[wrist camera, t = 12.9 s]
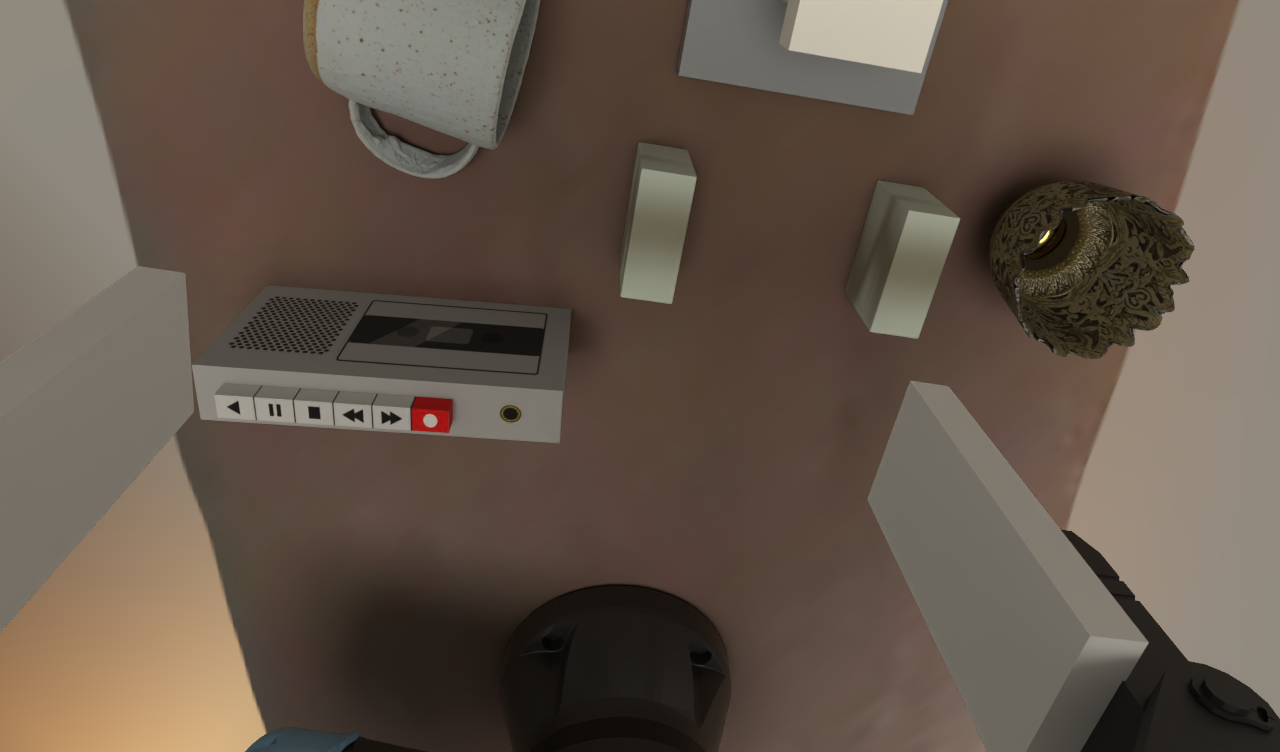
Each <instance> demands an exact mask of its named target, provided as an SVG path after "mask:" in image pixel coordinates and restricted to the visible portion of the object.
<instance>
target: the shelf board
mask: <svg viewBox="0 0 1280 752" xmlns="http://www.w3.org/2000/svg"><path fill="white" fill-rule="evenodd" d="M942 3H943V0H788V5H787V9H786V13H785V18H784V22H783V27H782V31H781V35H780V40H779V44H781V45H782V46H783V47H785V48H786V49H788V50H790V51H796V52H802V53H808V54H813V55H819V56H825V57H831V58H836V59H842V60H848V61H853V62H859V63H865V64H871V65H876V66H882V67H888V68H894V69H899V70H905V71H911V72H916V73H921V72H922V69H923V66H924V62H925V59H926V56H927V53H928V49H929V46H930V43H931V39H932V36H933V33H934V30H935V26H936V23H937V20H938V16H939V13H940V10H941V7H942Z"/></svg>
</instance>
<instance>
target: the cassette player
mask: <svg viewBox="0 0 1280 752" xmlns="http://www.w3.org/2000/svg"><path fill="white" fill-rule="evenodd" d="M570 321H571V309H569V308H556V307H543V306H531V305H518V304H505V303H492V302H479V301H467V300H454V299H441V298H428V297H415V296H403V295H390V294H377V293H364V292H351V291H339V290H326V289H313V288H300V287H287V286H274V285H267V286H266V287H265V288H264V289H263V290H262V291H261V292H260V293H259V294H258V295H257V296H256V297H255V298H254V299H253V300H252V301H251V302H250V304H249V305H248V306H247V307H246V308H245V309H244V310H243V311H242V312H241V313H240V314H239V315H238V316H237V317H236V318H235V319H234V320H233V322H232V323H231V324H230V325H229V326H228V327H227V328H226V329H225V330H224V331H223V332H222V333H221V334H220V335H219V336H218V337H217V338H216V339H215V341H214V342H213V343H212V344H211V345H210V346H209V347H208V348H207V349H206V350H205V351H204V352H203V353H202V354H201V355H200V356H199V357H198V359H197V360H196V361H195V362H194V363H193V364H192V369H193V375H194V381H195V387H196V393H197V399H198V405H199V411H200V417H201V419H203V420H218V421H233V422H248V423H263V424H278V425H293V426H308V427H323V428H338V429H353V430H368V431H383V432H399V433H414V434H429V435H444V436H459V437H474V438H489V439H504V440H519V441H534V442H549V443H560V434H561V424H562V414H563V403H564V393H565V383H566V373H567V362H568V351H569V336H570Z"/></svg>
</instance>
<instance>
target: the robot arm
mask: <svg viewBox="0 0 1280 752" xmlns="http://www.w3.org/2000/svg"><path fill="white" fill-rule="evenodd" d="M193 412H194V404H193V388H192V372H191V357H190V341H189V325H188V310H187V294H186V279H185V273H181V272H174V271H167V270H160V269H154V268H147V267H140V266H138V267H136V268H135V269H134V270H132V271H131V272H129V273H128V274H126V275H125V276H123V277H122V278H120V279H119V280H118V281H116V282H115V283H113V284H112V285H110V286H109V287H108V288H106V289H105V290H103V291H102V292H100V293H99V294H98V295H96V296H95V297H93V298H92V299H90V300H89V301H87V302H86V303H84V304H83V305H81V306H80V307H79V308H77V309H76V310H74V311H73V312H71V313H70V314H68V315H67V316H66V317H64V318H63V319H61V320H60V321H58V322H57V323H56V324H54V325H53V326H51V327H50V328H48V329H47V330H45V331H44V332H42V333H41V334H40V335H38V336H37V337H35V338H34V339H32V340H31V341H29V342H28V343H27V344H25V345H24V346H22V347H21V348H19V349H18V350H16V351H15V352H14V353H12V354H11V355H9V356H8V357H6V358H5V359H3V360H2V361H1V362H0V633H1V632H2V631H3V629H4V628H5V627H6V626H7V625H8V624H9V623H10V621H11V620H12V619H13V618H14V617H15V616H16V615H17V613H18V612H19V611H20V610H21V609H22V608H23V607H24V605H25V604H26V603H27V602H28V601H29V600H30V599H31V597H32V596H33V595H34V594H35V593H36V592H37V591H38V589H39V588H40V587H41V586H42V585H43V584H44V583H45V581H46V580H47V579H48V578H49V577H50V576H51V575H52V573H53V572H54V571H55V570H56V569H57V568H58V567H59V565H60V564H61V563H62V562H63V561H64V560H65V559H66V557H67V556H68V555H69V554H70V553H71V552H72V551H73V549H74V548H75V547H76V546H77V545H78V543H80V541H81V540H82V539H83V538H84V537H85V536H86V535H87V533H88V532H89V531H90V530H91V529H92V528H93V527H94V525H95V524H96V523H97V522H98V521H99V520H100V519H101V517H102V516H103V515H104V514H105V513H106V512H107V511H108V509H109V508H110V507H111V506H112V505H113V504H114V503H115V501H116V500H117V499H118V498H119V497H120V495H122V493H123V492H124V491H125V490H126V489H127V488H128V486H129V485H130V484H131V483H132V482H133V481H134V480H135V479H136V477H137V476H138V475H139V474H140V473H141V472H142V471H143V469H144V468H145V467H146V466H147V465H148V464H149V463H150V461H151V460H152V459H153V458H154V457H155V456H156V455H157V453H158V452H159V451H160V450H161V449H162V448H163V447H164V445H165V444H166V443H167V442H168V441H169V440H170V439H171V437H172V436H173V435H174V434H175V433H176V432H177V431H178V429H179V428H180V427H181V426H182V425H183V424H184V423H185V421H186V420H187V419H188V418H189V417H190V416H191V415H192V413H193ZM867 500H868V502H869V504H870V506H871V508H872V511H873V513H874V515H875V517H876V519H877V521H878V523H879V525H880V527H881V529H882V532H883V534H884V536H885V538H886V540H887V542H888V544H889V546H890V548H891V551H892V553H893V555H894V557H895V559H896V561H897V563H898V565H899V567H900V569H901V572H902V574H903V576H904V578H905V580H906V582H907V584H908V586H909V588H910V590H911V593H912V595H913V597H914V599H915V601H916V603H917V605H918V607H919V609H920V611H921V614H922V616H923V618H924V620H925V622H926V624H927V626H928V628H929V630H930V632H931V635H932V637H933V639H934V641H935V643H936V645H937V647H938V649H939V651H940V653H941V656H942V658H943V660H944V662H945V664H946V666H947V668H948V670H949V672H950V674H951V677H952V679H953V681H954V683H955V685H956V687H957V689H958V691H959V693H960V696H961V698H962V700H963V702H964V704H965V706H966V708H967V710H968V712H969V714H970V717H971V719H972V721H973V723H974V725H975V727H976V729H977V731H978V733H979V735H980V738H981V740H982V742H983V744H984V746H985V748H986V750H987V752H1280V719H1279V717H1278V716H1277V715H1276V713H1275V712H1274V711H1273V709H1272V708H1271V707H1270V706H1269V704H1268V703H1267V702H1266V701H1265V700H1263V699H1262V698H1261V697H1260V696H1259V695H1258V694H1257V693H1255V692H1254V691H1253V690H1252V689H1251V688H1250V687H1248V686H1246V685H1245V684H1243V683H1242V682H1240V681H1238V680H1237V679H1235V678H1234V677H1232V676H1230V675H1229V674H1227V673H1225V672H1222V671H1220V670H1217V669H1215V668H1212V667H1210V666H1208V665H1205V664H1199V663H1195V662H1190V661H1188V660H1187V659H1186V658H1185V657H1184V655H1183V654H1182V653H1181V652H1180V650H1179V649H1178V648H1177V647H1176V645H1175V644H1174V643H1173V642H1172V641H1171V639H1170V638H1169V637H1168V636H1167V634H1166V633H1165V632H1164V631H1163V630H1162V628H1161V627H1160V626H1159V625H1158V623H1157V622H1156V621H1155V620H1154V619H1153V617H1152V616H1151V615H1150V614H1149V612H1148V611H1147V610H1146V609H1145V607H1144V606H1143V605H1142V604H1141V603H1140V601H1135V595H1134V594H1133V593H1132V592H1131V590H1130V589H1129V588H1128V587H1127V585H1126V584H1125V583H1124V582H1123V581H1119V576H1118V575H1117V573H1116V572H1115V571H1114V570H1113V568H1112V567H1111V566H1110V565H1109V564H1108V562H1107V561H1106V560H1105V558H1104V557H1103V556H1102V555H1101V554H1100V553H1099V552H1098V551H1097V550H1095V549H1094V548H1092V547H1091V546H1090V545H1089V544H1087V543H1086V542H1085V541H1084V540H1082V539H1081V538H1080V537H1078V536H1077V535H1076V534H1075V533H1073V532H1072V531H1066V530H1060V528H1059V527H1058V526H1057V524H1056V523H1055V522H1054V521H1053V519H1052V518H1051V517H1050V516H1049V514H1048V513H1047V512H1046V510H1045V509H1044V508H1043V507H1042V505H1041V504H1040V503H1039V501H1038V500H1037V499H1036V498H1035V496H1034V495H1033V494H1032V492H1031V491H1030V490H1029V489H1028V487H1027V486H1026V485H1025V484H1024V482H1023V481H1022V480H1021V478H1020V477H1019V476H1018V475H1017V473H1016V472H1015V471H1014V469H1013V468H1012V467H1011V466H1010V464H1009V463H1008V462H1007V460H1006V459H1005V458H1004V457H1003V455H1002V454H1001V453H1000V452H999V450H998V449H997V448H996V446H995V445H994V444H993V443H992V441H991V440H990V439H989V437H988V436H987V435H986V434H985V432H984V431H983V430H982V429H981V427H980V426H979V425H978V423H977V422H976V421H975V420H974V418H973V417H972V416H971V414H970V413H969V412H968V411H967V409H966V408H965V407H964V405H963V404H962V403H961V402H960V400H959V399H958V398H957V397H956V395H955V394H954V393H953V391H952V390H951V389H950V388H949V386H944V385H937V384H930V383H923V382H917V381H910V383H909V386H908V388H907V391H906V394H905V397H904V399H903V402H902V405H901V408H900V410H899V413H898V416H897V419H896V421H895V424H894V427H893V430H892V432H891V435H890V438H889V441H888V443H887V446H886V449H885V452H884V454H883V457H882V460H881V463H880V466H879V468H878V471H877V474H876V477H875V479H874V482H873V485H872V488H871V490H870V493H869V496H868V499H867ZM730 695H731V679H730V673H729V666H728V660H727V654H726V650H725V646H724V644H723V641H722V639H721V637H720V635H719V633H718V632H717V630H716V629H715V627H714V626H713V625H712V624H711V622H710V621H709V620H708V619H707V618H706V617H705V616H704V615H702V614H701V613H700V612H699V611H698V610H696V609H695V608H693V607H692V606H690V605H689V604H687V603H685V602H683V601H682V600H679V599H677V598H675V597H673V596H670V595H668V594H665V593H662V592H658V591H655V590H651V589H645V588H639V587H630V586H605V587H596V588H589V589H585V590H580V591H577V592H573V593H570V594H567V595H564V596H562V597H560V598H557V599H555V600H553V601H551V602H549V603H547V604H546V605H544V606H542V607H541V608H539V609H538V610H536V611H535V612H534V613H532V614H531V615H530V616H529V617H528V618H527V619H526V620H525V621H524V622H523V623H522V624H521V625H520V626H519V627H518V629H517V630H516V631H515V633H514V634H513V636H512V637H511V639H510V641H509V643H508V646H507V648H506V652H505V655H504V661H503V668H502V675H501V683H500V698H501V706H502V710H503V714H504V718H505V722H506V726H507V729H508V733H509V737H510V741H511V745H512V749H513V752H718V749H719V745H720V741H721V737H722V732H723V728H724V724H725V720H726V715H727V711H728V707H729V702H730ZM245 752H426V751H421V750H416V749H411V748H407V747H402V746H397V745H392V744H387V743H383V742H379V741H374V740H370V739H366V738H364V735H362V734H360V733H354V732H352V733H350V734H348V735H344V734H337V733H330V732H323V731H316V730H309V729H302V728H296V727H287V728H281V729H277V730H274V731H272V732H269V733H267V734H265V735H264V736H262V737H261V738H259V739H258V740H257V741H256V742H254V743H253V744H252V745H251V746H250V747H249V748H248V749H247V750H246V751H245Z"/></svg>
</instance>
